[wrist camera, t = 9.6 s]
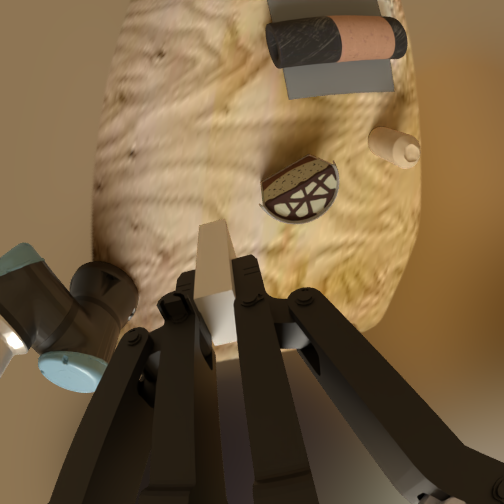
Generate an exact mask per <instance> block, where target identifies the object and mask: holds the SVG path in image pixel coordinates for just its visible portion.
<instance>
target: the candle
mask: <svg viewBox="0 0 504 504" xmlns="http://www.w3.org/2000/svg"><path fill="white" fill-rule="evenodd" d="M368 145H369V148H370V150H371V151H372V152H373V153H374V154H375V155H377V156H379V157H381V158H383V159H385V160H387V161H389V162H391V163H392V164H394V165H396V166H398V167H400V168H402V169H409V168H412V167H413V166H414V165H415V164H416V163H417V162H418V160H419V157H420V153H421V150H420V145H419V142H418V140H417V139H416V138H415V137H413V136H412V135H409V134H406V133H403V132H400V131H396V130H393V129H390V128H386V127H377V128H375V129H373V130H372V131H371V133H370V135H369V138H368Z"/></svg>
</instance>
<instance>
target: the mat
mask: <svg viewBox="0 0 504 504" xmlns="http://www.w3.org/2000/svg"><path fill="white" fill-rule="evenodd" d="M267 2H268V6H269V10H270V14H271V18H272V22H273V23H274V22H280V21H286V20H293V19H301V18H309V17H319V16H340V15H357V16H381V14H380V10H379V6H378V2H377V0H267ZM283 72H284V77H285V82H286V87H287V92H288V98H289V100H291V99H299V98H306V97H315V96H324V95H335V94H348V93H365V92H394V84H393V77H392V70H391V64H390V59H375V60H359V61H347V62H335V63H324V64H313V65H304V66H295V67H287V68H283Z"/></svg>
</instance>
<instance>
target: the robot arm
mask: <svg viewBox="0 0 504 504" xmlns="http://www.w3.org/2000/svg"><path fill="white" fill-rule="evenodd" d="M137 305H138V292H137V289H136V287H135V285H134V283H133V281H132V280H131V279H130V277H129V276H128V275H127V274H126V273H124V272H123V271H122V270H120V269H119V268H117V267H115V266H113V265H111V264H108V263H105V262H97V261H95V262H89V263H86V264H84V265H82V266H81V267H79V268H78V270H77V271H76V273H75V274H74V276H73V277H72V280H71V283H70V292H69V291H68V290H67V289H66V288H65V286H64V285H63V284H62V283H61V281H60V280H59V279H58V278H57V277H56V275H55V274H54V273H53V272H52V270H51V269H50V268H49V267H48V265H47V264H46V263H45V260H44V259H43V258H41V257H40V256H39V254H38V253H37V252H36V251H35V249H34V248H33V247H32V246H31V245H30V244H28V243H20V244H18V245H17V246H15V247H14V248H12V249H11V250H10V251H9V252H7V253H6V254H5V255H3V256H2V257H1V258H0V378H1V376H2V374H3V372H4V371H5V369H6V367H7V366H8V364H9V362H10V360H11V359H12V357H13V356H14V355H18V354H26V353H27V352H28V350H29V349H30V347H32V348H33V349H34V350H35V351H36V352H37V353H38V354H39V355H40V357H39V358H38V367H39V369H40V370H41V373H42V374H43V375H44V376H45V377H46V378H47V379H48V380H50V381H51V382H53V383H54V384H56V385H58V386H60V387H62V388H65V389H68V390H71V391H75V392H82V393H89V392H94V391H95V393H94V394H93V396H92V399H91V401H90V403H89V405H88V407H87V409H86V412H85V414H84V416H83V418H82V421H81V423H80V425H79V427H78V430H77V432H76V434H75V437H74V439H73V441H72V444H71V446H70V449H69V451H68V454H67V456H66V459H65V461H64V464H63V466H62V469H61V471H60V474H59V477H58V479H57V482H56V485H55V488H54V490H53V493H52V496H51V499H50V502H49V503H48V504H135V501H136V497H137V494H138V490H139V487H140V483H141V480H142V476H143V473H144V470H145V466H146V463H147V460H148V456H149V453H150V450H151V464H150V483H149V486H148V487H147V488H145V489H144V490H142V491H141V493H140V495H139V501H138V504H228V502H227V497H226V489H225V479H224V469H223V458H222V447H221V434H220V421H219V407H218V391H217V375H216V355H215V352H214V350H213V348H212V340H213V343H214V345H215V346H217V345H221V344H226V343H230V342H235V341H237V343H238V352H239V360H240V368H241V376H242V385H243V393H244V401H245V409H246V417H247V425H248V432H249V439H250V447H251V454H252V461H253V468H254V475H255V481H254V484H253V499H254V504H319V502H318V498H317V494H316V490H315V485H314V481H313V477H312V474H311V470H310V466H309V462H308V458H307V453H306V449H305V445H304V442H303V438H302V433H301V429H300V425H299V422H298V417H297V414H296V410H295V406H294V402H293V398H292V394H291V390H290V386H289V382H288V378H287V374H286V370H285V366H284V362H283V358H282V354H281V350H280V349H297V352H298V353H299V355H300V356H301V357H302V359H303V360H304V362H305V363H306V364H307V366H308V367H309V369H310V370H311V372H312V373H313V375H314V376H315V377H316V379H317V380H318V382H319V383H320V385H321V386H322V387H323V389H324V390H325V392H326V393H327V395H328V396H329V397H330V399H331V400H332V402H333V403H334V404H335V406H336V407H337V408H338V410H339V411H340V413H341V414H342V416H343V417H344V419H345V420H346V421H347V422H348V424H349V425H350V427H351V428H352V429H353V431H354V432H355V434H356V435H357V437H358V438H359V439H360V441H361V442H362V444H363V445H364V446H365V447H366V449H367V450H368V452H369V453H370V454H371V456H372V457H373V458H374V460H375V461H376V463H377V464H378V465H379V467H380V468H381V470H382V471H383V472H384V474H385V475H386V476H387V478H388V479H389V480H390V482H391V483H392V484H393V486H394V487H395V488H396V489H397V490H398V491H399V493H400V494H401V495H402V496H403V497H405V498H406V499H407V500H408V501H409V502H410V503H412V504H504V463H503V462H500V461H498V460H496V459H494V458H491V457H489V456H486V455H484V454H482V453H480V452H478V451H476V450H473V449H471V448H469V447H467V446H465V445H464V444H463V443H462V442H461V441H460V440H459V439H458V438H457V436H456V435H455V434H454V433H453V432H452V431H451V430H450V429H449V428H448V426H447V425H446V424H445V423H444V422H443V421H442V420H441V419H440V418H439V417H438V415H437V414H436V413H435V412H434V411H433V410H432V409H431V408H430V407H429V406H428V404H427V403H426V402H425V401H424V400H423V399H422V398H421V397H420V396H419V395H418V394H417V393H416V392H415V390H414V389H413V388H412V387H411V386H410V385H409V384H408V383H407V382H406V381H405V380H404V379H403V378H402V377H401V375H400V374H399V373H398V372H397V371H396V370H395V369H394V368H393V367H392V366H391V365H390V364H389V363H388V362H387V360H385V358H384V357H383V356H382V355H381V354H380V353H379V352H378V351H377V350H376V349H375V348H374V347H373V346H372V345H371V344H370V343H369V342H368V341H367V340H366V338H365V337H364V336H363V335H362V334H361V333H360V332H359V331H358V330H357V329H356V328H355V327H354V326H353V325H352V324H351V323H350V322H349V321H348V320H347V319H346V318H345V317H344V316H343V315H342V314H341V313H340V311H339V310H338V309H337V308H336V307H335V306H334V305H333V304H332V303H331V302H330V301H329V300H328V299H327V298H326V297H325V296H324V295H323V294H322V293H321V292H320V291H318V290H317V289H314V288H310V287H307V288H300V289H297V290H295V291H293V292H292V293H291V294H290V295H289V296H288V299H277V298H273V297H271V296H269V295H268V294H267V293H266V291H265V288H264V284H263V280H262V276H261V272H260V268H259V264H258V261H257V258H255V257H254V256H253V255H252V254H251V255H247V256H243V257H239V258H236V255H235V251H234V248H233V244H232V241H231V238H230V234H229V231H228V227H227V224H226V221H225V219H222V220H218V221H214V222H210V223H207V224H203V225H199V235H198V246H197V258H196V269H195V270H191V271H187V272H183V273H182V274H181V275H180V277H179V278H178V279H177V284H176V291H173V292H170V293H168V294H166V295H165V296H163V297H162V298H161V299H160V300H159V301H158V303H157V307H158V309H159V311H160V313H161V315H162V316H163V318H164V320H165V322H164V325H163V326H162V327H160V328H158V329H156V330H154V331H152V332H150V333H149V332H148V331H147V330H146V329H145V328H142V327H137V328H133V329H131V330H129V331H128V332H127V333H125V334H124V336H123V337H122V338H121V340H120V342H119V344H118V346H117V348H116V350H115V347H116V344H117V340H118V337H119V333H120V330H121V329H122V328H123V327H124V326H125V325H126V324H127V322H128V321H129V320H130V319H131V318H132V317H133V315H134V313H135V311H136V308H137ZM114 350H115V352H114ZM141 374H142V377H141V379H140V376H141ZM139 379H140V380H139Z"/></svg>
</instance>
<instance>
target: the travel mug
mask: <svg viewBox="0 0 504 504" xmlns="http://www.w3.org/2000/svg"><path fill="white" fill-rule="evenodd" d="M266 40H267V45H268V49H269V52H270V55H271V58H272V60H273V63H274V64H275V66H276V67H277V68H287V67H295V66H304V65H313V64H324V63H335V62H347V61H359V60H375V59H399V58H401V57H403V56H404V55H405V53H406V50H407V36H406V32H405V30H404V28H403V26H402V25H401V23H400V22H399V21H398V20H396V19H395V18H392V17H382V16H357V15H340V16H319V17H309V18H301V19H293V20H286V21H280V22H274V23H270V24H267V25H266Z"/></svg>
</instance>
